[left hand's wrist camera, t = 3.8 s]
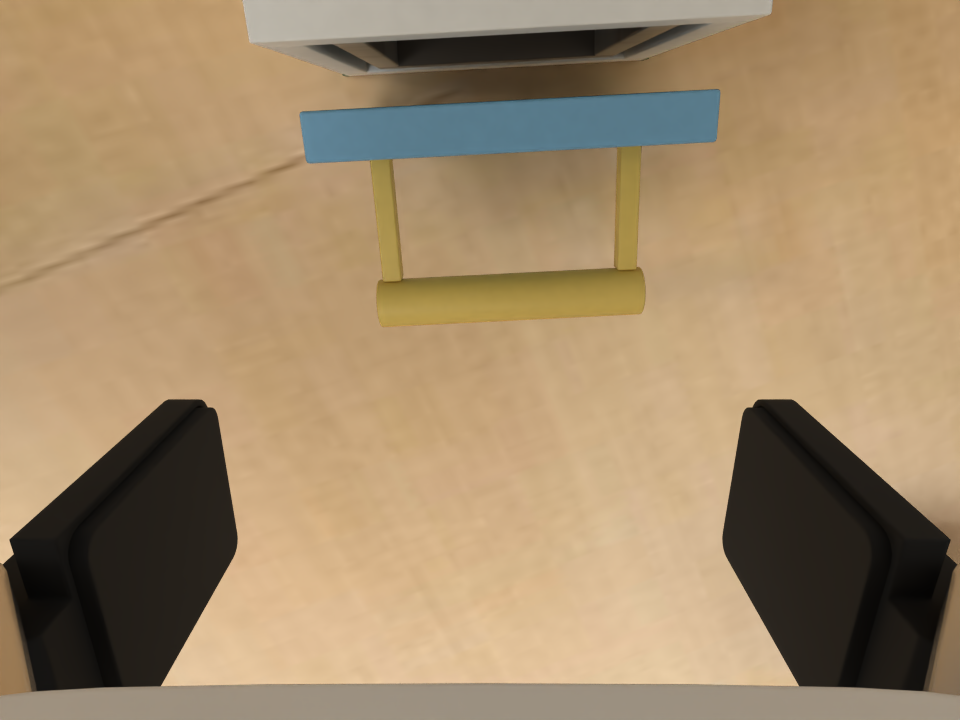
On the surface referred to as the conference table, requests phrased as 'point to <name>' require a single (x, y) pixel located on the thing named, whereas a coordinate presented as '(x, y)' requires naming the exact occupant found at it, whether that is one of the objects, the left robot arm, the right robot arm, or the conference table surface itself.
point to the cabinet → (478, 25)
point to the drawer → (509, 132)
